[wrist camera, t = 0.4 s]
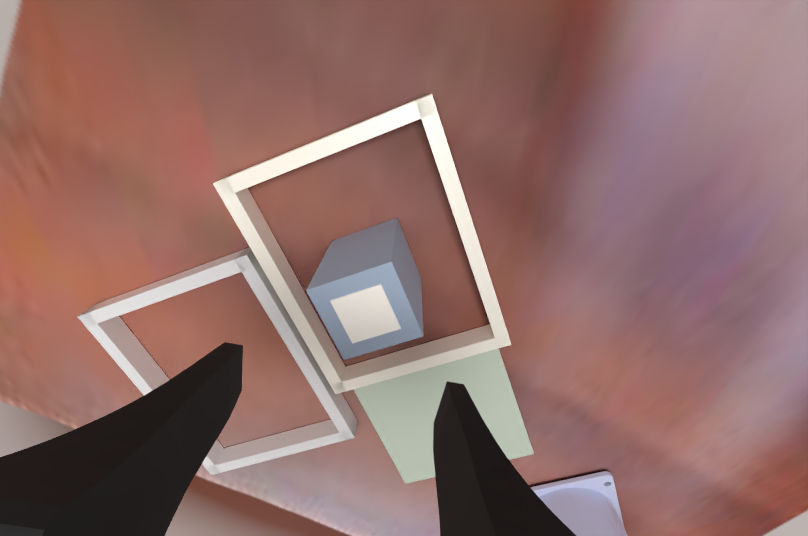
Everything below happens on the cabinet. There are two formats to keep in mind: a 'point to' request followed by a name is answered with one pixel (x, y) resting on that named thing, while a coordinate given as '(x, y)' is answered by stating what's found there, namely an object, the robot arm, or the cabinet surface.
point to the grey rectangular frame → (150, 376)
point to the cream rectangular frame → (292, 292)
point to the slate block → (369, 290)
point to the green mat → (418, 404)
